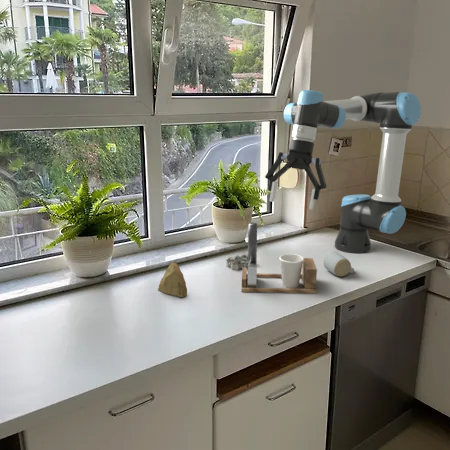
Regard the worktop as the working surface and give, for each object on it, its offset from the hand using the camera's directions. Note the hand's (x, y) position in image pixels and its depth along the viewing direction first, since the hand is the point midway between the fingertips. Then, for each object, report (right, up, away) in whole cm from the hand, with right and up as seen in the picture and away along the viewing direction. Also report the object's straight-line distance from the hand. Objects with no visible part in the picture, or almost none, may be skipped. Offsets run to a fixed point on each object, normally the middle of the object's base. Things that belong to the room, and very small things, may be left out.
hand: (290, 205), depth 152 cm
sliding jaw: (-12, -27, +11) cm, 32 cm away
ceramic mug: (+21, -25, +21) cm, 39 cm away
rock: (-39, -30, +4) cm, 49 cm away
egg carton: (-16, -23, +29) cm, 40 cm away
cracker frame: (-3, -27, +10) cm, 29 cm away
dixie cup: (+1, -28, +10) cm, 29 cm away
